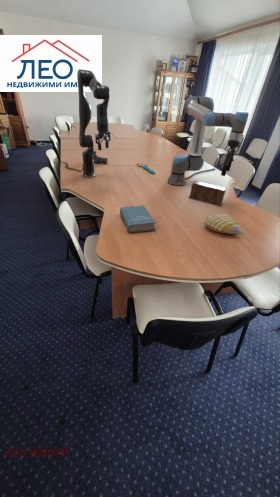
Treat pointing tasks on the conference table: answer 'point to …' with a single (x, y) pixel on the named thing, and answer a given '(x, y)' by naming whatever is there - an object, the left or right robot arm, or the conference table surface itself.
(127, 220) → the book
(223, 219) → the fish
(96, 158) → the laser sight
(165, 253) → the conference table surface
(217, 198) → the box
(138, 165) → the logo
